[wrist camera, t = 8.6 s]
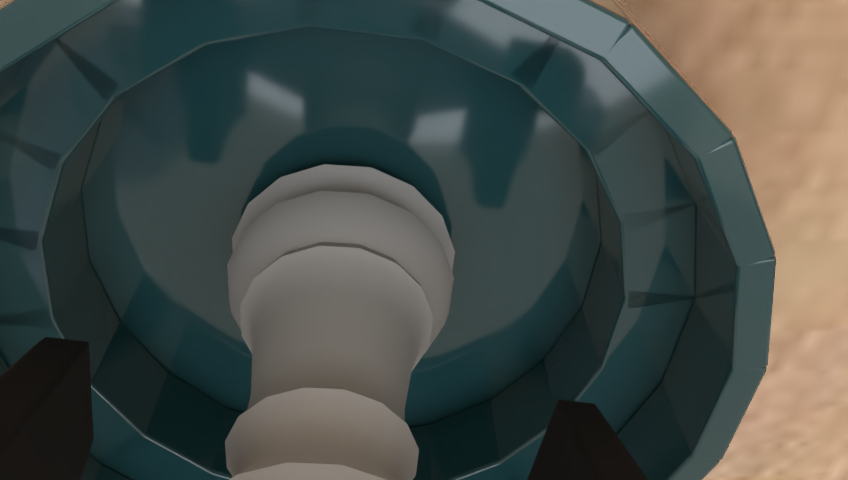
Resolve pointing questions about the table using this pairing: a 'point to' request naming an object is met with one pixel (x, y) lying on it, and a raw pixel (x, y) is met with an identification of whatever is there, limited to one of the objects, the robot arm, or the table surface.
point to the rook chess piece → (335, 323)
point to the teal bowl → (402, 159)
